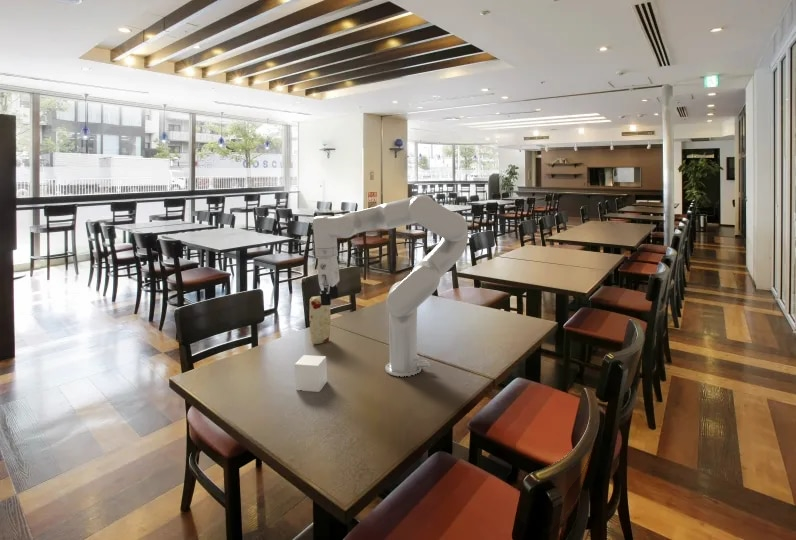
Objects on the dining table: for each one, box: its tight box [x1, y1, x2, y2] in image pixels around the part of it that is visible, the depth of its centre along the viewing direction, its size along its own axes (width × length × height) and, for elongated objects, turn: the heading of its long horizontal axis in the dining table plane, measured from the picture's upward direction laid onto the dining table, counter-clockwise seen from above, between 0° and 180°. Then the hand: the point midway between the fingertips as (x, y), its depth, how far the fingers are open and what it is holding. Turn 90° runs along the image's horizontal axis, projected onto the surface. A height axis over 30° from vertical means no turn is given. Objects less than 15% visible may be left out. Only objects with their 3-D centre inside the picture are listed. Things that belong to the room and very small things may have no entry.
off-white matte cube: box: [294, 354, 328, 393], centre depth 148 cm, size 8×8×9 cm
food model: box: [308, 295, 332, 345], centre depth 186 cm, size 10×7×20 cm
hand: (330, 301), depth 158 cm, fingers open, 9 cm apart
